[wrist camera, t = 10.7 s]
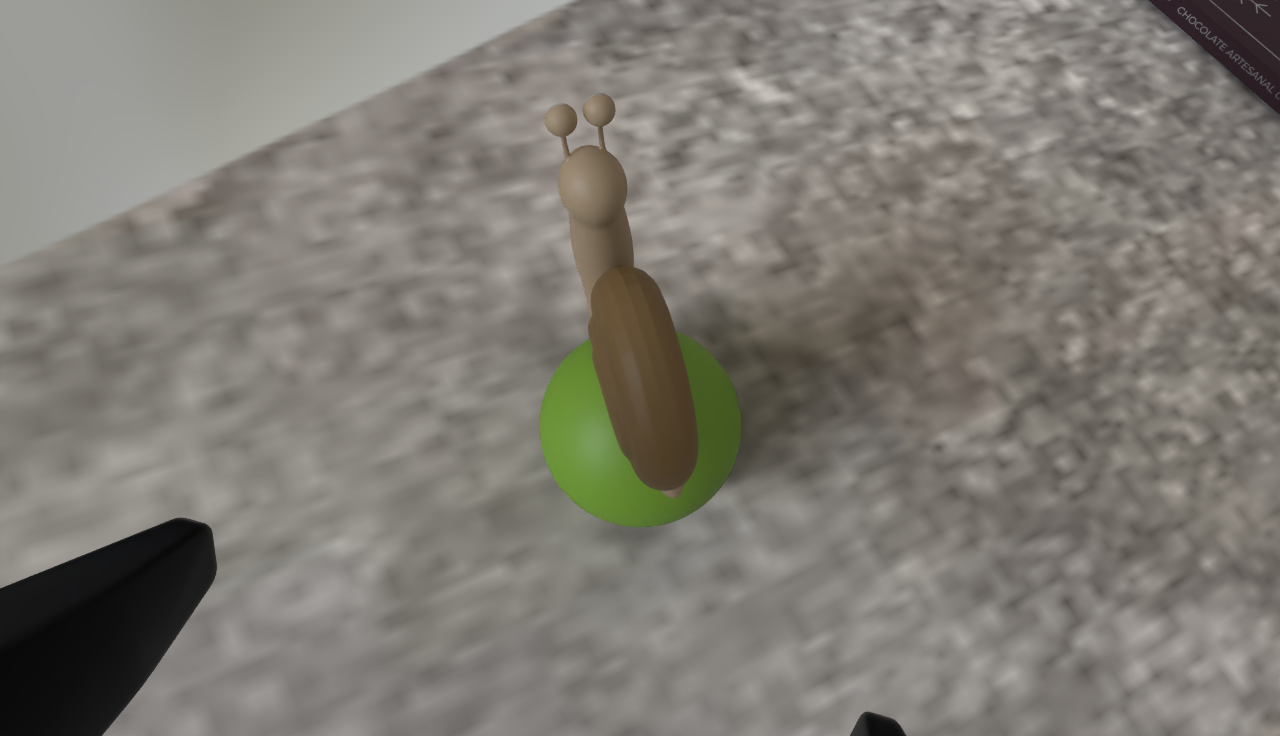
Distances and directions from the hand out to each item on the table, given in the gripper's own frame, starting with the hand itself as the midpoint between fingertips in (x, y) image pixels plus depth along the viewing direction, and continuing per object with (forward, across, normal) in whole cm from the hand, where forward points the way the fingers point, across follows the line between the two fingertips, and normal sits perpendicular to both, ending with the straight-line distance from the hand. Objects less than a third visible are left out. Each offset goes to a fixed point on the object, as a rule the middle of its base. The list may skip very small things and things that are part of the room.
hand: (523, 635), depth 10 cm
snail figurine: (+12, 0, +5) cm, 13 cm away
